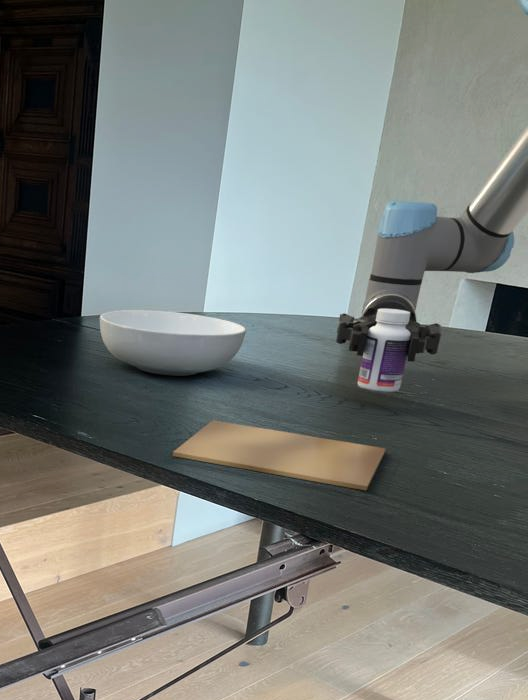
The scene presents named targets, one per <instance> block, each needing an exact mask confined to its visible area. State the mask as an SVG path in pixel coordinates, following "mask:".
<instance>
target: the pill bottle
mask: <svg viewBox="0 0 528 700" xmlns="http://www.w3.org/2000/svg"><path fill="white" fill-rule="evenodd" d="M409 318H410V312H408V311H404V310H397V309H378V311H377V316H376V321H377V324H376V326H373V327H371V328H370V329H369V330H368V333H367V338H366V343H365V348H364V353H363V356H361V358H362V359H361V363H360V367H359V373H358V379H357V386H358V387H359V388H361V389H363V390H367V391H373V392H379V393H395V392H399V390H400V389H401V387H402V386H401V385H402V382H403V381H402V380H403V376H404V372H405V367H406V361H407V359H408V358H407V353H408V348H409V344H410V339H411V333H410V332H409V331H408V330H407V329H406V328H405V327H406V324H408V322H409Z"/></svg>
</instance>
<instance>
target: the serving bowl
mask: <svg viewBox="0 0 528 700" xmlns="http://www.w3.org/2000/svg"><path fill="white" fill-rule="evenodd" d="M99 327H100V329H99V331H100V336H101V338H102V341H103V344H104V346H105V347H106V349H107V350H108V351H109V353H110V354H112V355H113V356H114V357H115V358H116V359H118V360H119V361H121V362H123V363H126V364H128V365H130V366H133V367H134V368H135V367H136V368H137V369H138V370H140V371H143V372H147V373H150V374H155V375H160V376H161V375H163V376H174V377H175V376H176V377H177V376H178V377H184V376H192V375H196V374H198V373H204V372H209V371H213V370H217V369H219V368H221V367H223V366H225V365H226V364H228V363H229V362H230V361H232V359H234V358H235V356H236V355H237V354H238V352H239V351H240V350H241V347H242V345H243V342H244V339H245V337H246V334H247V329H246V328H245V327H244V325H242V324H239V323H236V322H233V321H230V320H226V319H222V318H217V317H211V316H206V315H200V314H193V313H186V312H185V313H184V312H175V311H165V310H164V311H163V310H151V309H150V310H149V309H147V310H145V309H122V310H113V311H107V312H104V313H102V314H100V316H99Z"/></svg>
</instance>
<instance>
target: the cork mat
mask: <svg viewBox="0 0 528 700" xmlns="http://www.w3.org/2000/svg"><path fill="white" fill-rule="evenodd" d="M386 452H387V449H386V448H385V447H379V446H372V445H367V444H361V443H354V442H349V441H343V440H336V439H330V438H323V437H318V436H311V435H306V434H299V433H294V432H287V431H282V430H281V431H280V430H275V429H270V428H264V427H257V426H252V425H251V426H250V425H245V424H239V423H233V422H228V421H220V420H214V419H212V420H211V421H210V422H209V423H207V424H206V425H205V426H203V427H201V429H200V430H198V431H197V432H196V433H195V434H193V435H192V436H191V437H190V438H188V439H187V440H186V441H185V442H183V444H181V445H180V446H179V447H178V448H176V449H175V450H174V451H172V457H175V458H181V459H185V460H191V461H196V462H197V461H198V462H203V463H208V464H214V465H220V466H226V467H231V468H235V469H236V468H237V469H241V470H248V471H253V472H259V473H265V474H271V475H276V476H282V477H287V478H293V479H298V480H304V481H310V482H315V483H322V484H326V485H332V486H337V487H342V488H349V489H354V490H360V491H368V490H369V489H368V488H369V486H370V485H371V483H372V480H373V478H374V476H375V474H376V472H377V470H378V469H379V467H380V464H381V462H382V460H383V458H384V456H385V454H386Z"/></svg>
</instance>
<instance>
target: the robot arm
mask: <svg viewBox="0 0 528 700" xmlns="http://www.w3.org/2000/svg"><path fill="white" fill-rule="evenodd" d="M518 3H519V7H520V8H521V10H522V11H523V13H524V14H525V15H526V16H528V0H518ZM527 214H528V125H527V126H526V127H525V128H524V130H523V131H522V132H521V133H520V135H519V136H518V137H517V139H516V141H515V142H514V143H513V144H512V146H511V147H510V149H509V150H508V151H507V152H506V154H505V155H504V157H503V158H502V160H501V161H500V162H499V163H498V165H497V166H496V168H495V169H494V170H493V171H492V173H491V174H490V176H489V177H488V179H486V181H485V183H483V185H482V187H480V189H479V191H478V192H477V193H476V195H475V196H474V197H473V198H472V200H471V202H470V203H469V204H468V206H466V208H465V209H464V210H463V212H462V213H461V215H460V216H459V217H446V216H438V206H437V205H436V203H433V202H424V201H412V200H398V199H397V200H395V199H394V200H391V201H388V202H387V204H386V205H385V206H384V209H383V212H382V215H381V219H380V221H379V226H378V230H377V233H376V234H377V237H376V243H375V250H374V256H373V262H372V267H371V272H370V276H369V279H368V282H367V289H366V294H365V299H364V302H363V307H362V310H361V316H359V317H358V318H357V320H355V316H353V315H349V314H347V313H343V312H342V313H340V314H339V318H338V323H337V328H336V329H337V330H336V333H337V334H336V339H335V343H337V344H339V345H342V344H345V343H347V341H348V342H349V346H348V351H349V352H356V356H360V357H363V353H364V348H365V343H366V338H367V333H368V330H369V329H370V328H371V327H373V326H376V324H377V321H376V316H377V311H378V309H397V310H404V311H408V312H410V318H409V322H408V324H406V327H405V328H406V329H407V330H408V331H409V332H410V333H411V339H410V344H409V348H408V353H407V358H406V359H407V362H412V363H414V362H415V361H416V360H415V359H416V355H417V354H424V353H425V352H427V353H428V354H430V355H436V354H438V350H439V346H440V342H441V336H442V333H441V328H442V325H441V324H439V323H437V322H435V323H430V324H429V323H426V324H425V326H422V325H421V323H420V322H418V320H417V314H416V309H417V305H418V302H419V301H418V300H419V295H420V291H421V287H422V283H423V280H424V279H423V278H424V275H425V272H454V273H455V272H456V273H458V272H459V273H467V274H477V273H485V272H486V273H487V272H493V271H496V270H498V269H500V268H501V267H502V266H503V265H505V264H506V263H507V261H508V260H509V258H510V257H511V253H512V249H513V248H514V246H515V233H514V230H515V229H516V228H517V226H518V225H519V224H520V223H521V221H522V220H523V219H524V218H525V216H527ZM425 350H426V351H425Z"/></svg>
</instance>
